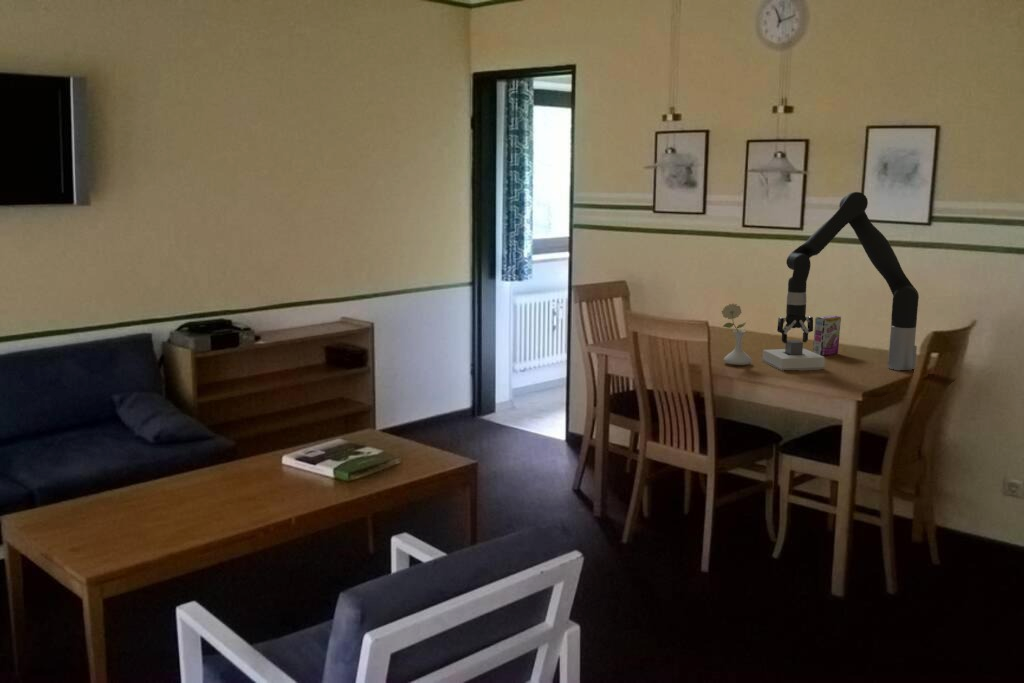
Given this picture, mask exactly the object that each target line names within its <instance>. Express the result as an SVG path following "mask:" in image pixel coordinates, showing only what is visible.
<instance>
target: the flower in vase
mask: <svg viewBox="0 0 1024 683" xmlns="http://www.w3.org/2000/svg"><path fill="white" fill-rule="evenodd" d="M721 314H722V317H723V318H724V319H727V320H734V319H736V318H739V316H740V315H741V314H742V309H741V306H740V305H737V303H729V304H728V305H727V304H726V306H724V307H723V310H721ZM745 325H746V321H745V322H743V323H740V324H738V325H737V326H736V325H735V323H734V321H732V322H726V323H724V324H723V325H722V327H723V328H728V329H729V328H732V327H733V326H734V327H735V330H732V332H733V334H734V335H735V336H734V337H735V338H734V339H735V347H734V349H733V350H732V351H730V352H729V353H728V354H727V355H725V357H723V361H724V363H725V364H728V365H733V366H747V365H749V364H751V363H752V362H753V360H752V358H751V356H749V354H747V353H746V352H745V351H744V350H743V348H742V340H743V336H744V334H745V333H746V331H745V330H742V329H741V328H743V327H744V326H745ZM740 329H741V330H740Z"/></svg>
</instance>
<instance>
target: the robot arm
mask: <svg viewBox="0 0 1024 683" xmlns="http://www.w3.org/2000/svg"><path fill="white" fill-rule="evenodd" d="M839 201H840V202H839V208H838V209H837V211H836V212H835V213H834V214H833V215H832V216H831V217H830V218H829V219H828V220H827V221H826V222H825V223H823V224H822V225H821V226H820V227H819V228H817V230H816V231H814V233H812V235H810V237H809V238H807V239H806V241H805V242H803V243H801V245H799V246H798V247H796V248H795V249H794V250H793V251H791V253H789V255H788V257H787V259H786V265H787V268H789V269H790V270H792V275H791V277H789V278H788V284H787V295H786V311H785V312H786V313H785V314H786V316H785V317H778V320H777V330H776V331H777V332H778V333H780V334H781V342H782V343H784V344H786V343H787V340H788V332H789V331H790V330H791V329H801V330H802V342H803V343H807V342H808V340H809V333H811V332H814V317H813V316H809V315H808V316H806V313H807V312H806V311H807V283H808V282H807V280H808V278H809V274H810V270H811V258H812V257H813V256H817V255H819V254H820V253H821V252H822V251H823V250H824V249H825V248H826V247H827V246H828V245H829V244H830V243H831V242H832V241H833V239H834V238H835V237H836V236H837V235H838V233H840V232H841V231H842V230H843V229H844V228H845V227H846V226H847V225H850V227H851V228H852V229H853V232H854V233H855V235H856V236H857V238H858V241H859V242H860V244H861V246H862V247H863V250H864V252H865V253H866V255H867V257H868V258H869V261H870V263H872V265H873V267H874V269H876V271H877V272H878V273H879V274H880V275H881V276H882V278H883V279H884V280H885V282H886V284H887V285H888V287H889V290H890V292H891V294H892V306H891V323H890V334H889V348H888V359H887V360H888V362H887V369H889V368H890V369H891V370H893V369H894V371H900V370H909V371H913V370H912V369H913V368H914V366H915V367H916V361H917V350H918V349H917V348H918V347H917V345H916V344H915V343H916V332H917V323H918V322H917V321H918V309H919V308H918V306H919V298H920V297H919V292H918V290H917V289H916V287H915V286H914V285H913V283H911V281H910V280H909V278H908V277H907V275H906V274H905V273H904V270H903V269H902V267H901V264H900V262H899V261H900V260H899V259H898V257H897V255H896V253H895V251H894V249H893V247H892V246H891V244H890V243H889V240H888V239H887V238H886V237H885V235H884V234H883V233H882V232H881V231H880V230H879V229H878V228H877V227H876V226H875V225H874V224H873V223H872V221H871V220H870V219H869V217H868V214H867V213H866V210H867V208H868V205H869V202H868V198H867V196H866V194H864V193H862V192H859V191H854V192H850V193H849V194H847V195H845V196H844V197H842V199H840V200H839ZM785 322H786V323H785ZM805 322H807V325H806V324H805ZM784 324H785V325H784Z"/></svg>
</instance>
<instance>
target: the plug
mask: <svg viewBox="0 0 1024 683" xmlns="http://www.w3.org/2000/svg"><path fill="white" fill-rule="evenodd" d="M784 349H785V354H787V355H802V351H803V349H804V342H803V341H801V340H799V339H795V340H794V339H791V340H788V339H787V343H785V348H784Z"/></svg>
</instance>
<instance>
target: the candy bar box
mask: <svg viewBox="0 0 1024 683" xmlns="http://www.w3.org/2000/svg"><path fill="white" fill-rule="evenodd" d="M814 319H815V321H814V331H813V332H814V334H813V345H812V352H814V353H816V354H818V355H821V356H823V357H825V356H831V355H837V353H839V345H840V334H841V332H840V331H841V322H842V316H839V315H838V316H837V315H833V314H832V315H824V316H816V317H815V318H814Z"/></svg>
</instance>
